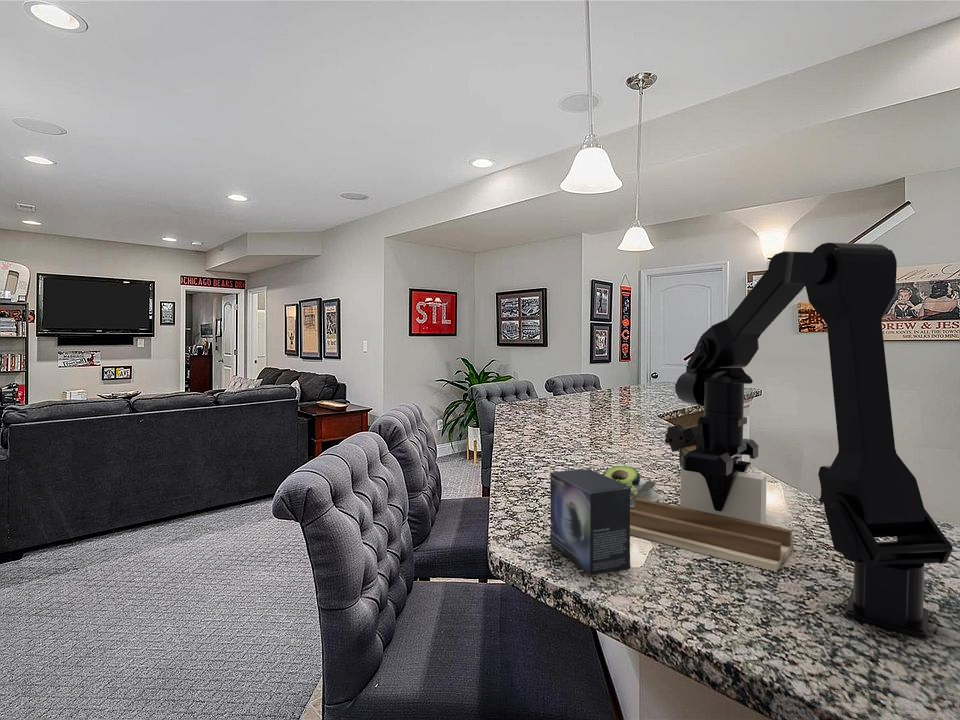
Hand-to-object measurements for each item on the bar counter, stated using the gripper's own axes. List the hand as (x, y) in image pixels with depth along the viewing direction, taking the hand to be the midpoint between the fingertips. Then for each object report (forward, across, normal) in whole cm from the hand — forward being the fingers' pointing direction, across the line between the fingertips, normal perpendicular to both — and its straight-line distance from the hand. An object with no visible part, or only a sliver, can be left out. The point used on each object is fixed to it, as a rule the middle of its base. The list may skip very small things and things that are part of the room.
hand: (721, 508), depth 83 cm
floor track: (+2, +10, 0) cm, 11 cm away
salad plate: (+3, -2, -20) cm, 20 cm away
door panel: (+2, 0, 0) cm, 2 cm away
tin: (+2, -24, -12) cm, 27 cm away
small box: (+2, +26, -9) cm, 28 cm away
